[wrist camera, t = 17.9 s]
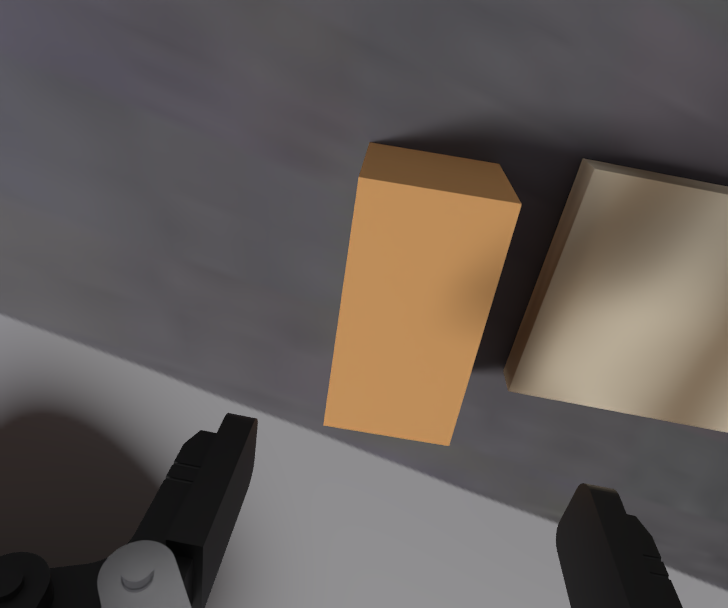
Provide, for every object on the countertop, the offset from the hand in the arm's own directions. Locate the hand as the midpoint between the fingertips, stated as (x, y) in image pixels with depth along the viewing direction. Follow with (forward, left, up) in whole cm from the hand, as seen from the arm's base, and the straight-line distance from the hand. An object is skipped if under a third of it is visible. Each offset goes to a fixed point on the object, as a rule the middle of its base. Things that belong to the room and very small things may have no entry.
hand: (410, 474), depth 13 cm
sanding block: (0, 0, -11) cm, 11 cm away
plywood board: (-14, -1, -11) cm, 18 cm away
